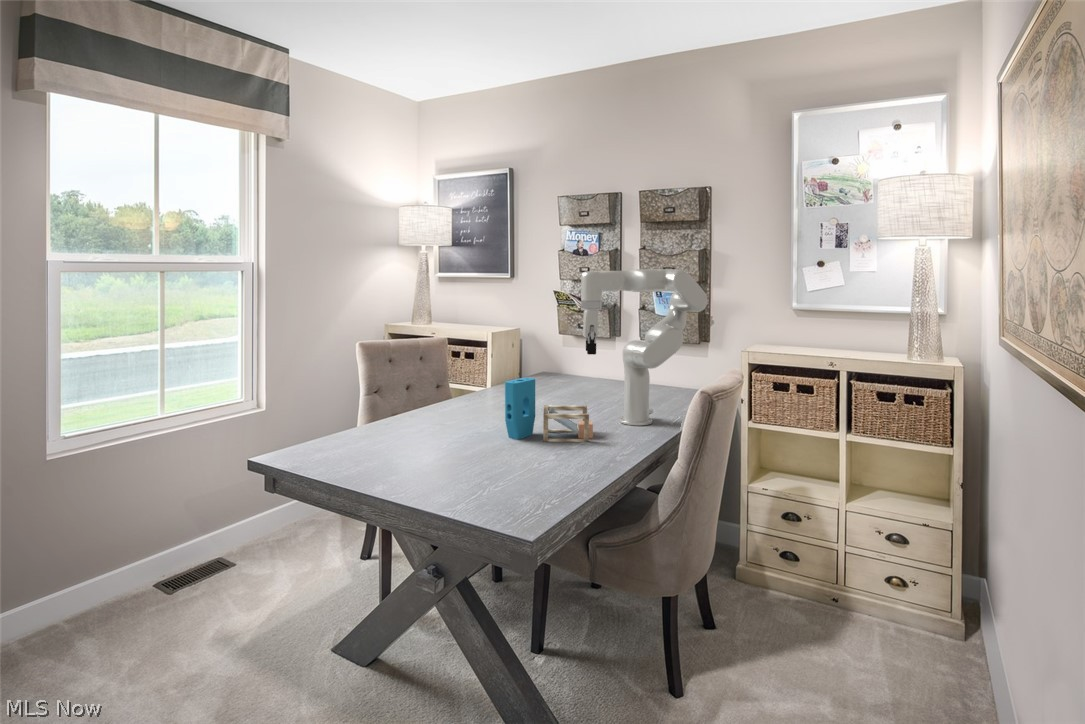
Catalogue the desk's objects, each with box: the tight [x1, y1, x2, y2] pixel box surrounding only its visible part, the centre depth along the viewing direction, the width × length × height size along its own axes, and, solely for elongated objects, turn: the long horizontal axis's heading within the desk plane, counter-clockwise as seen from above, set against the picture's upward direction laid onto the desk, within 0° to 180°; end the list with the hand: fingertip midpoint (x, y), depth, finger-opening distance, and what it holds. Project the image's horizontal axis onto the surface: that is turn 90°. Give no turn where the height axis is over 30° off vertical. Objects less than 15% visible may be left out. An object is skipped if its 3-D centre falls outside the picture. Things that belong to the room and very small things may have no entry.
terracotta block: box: [577, 420, 594, 439], centre depth 225 cm, size 5×5×5 cm
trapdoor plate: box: [548, 407, 578, 435], centre depth 225 cm, size 12×10×1 cm
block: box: [504, 377, 536, 440], centre depth 224 cm, size 12×5×20 cm, turn 143°
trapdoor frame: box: [542, 405, 590, 443], centre depth 225 cm, size 16×14×10 cm
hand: (590, 352), depth 233 cm, fingers open, 9 cm apart
